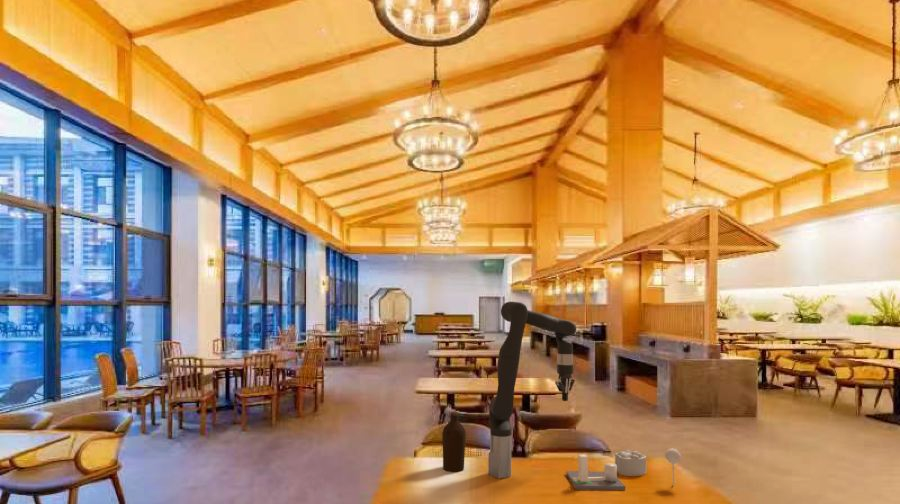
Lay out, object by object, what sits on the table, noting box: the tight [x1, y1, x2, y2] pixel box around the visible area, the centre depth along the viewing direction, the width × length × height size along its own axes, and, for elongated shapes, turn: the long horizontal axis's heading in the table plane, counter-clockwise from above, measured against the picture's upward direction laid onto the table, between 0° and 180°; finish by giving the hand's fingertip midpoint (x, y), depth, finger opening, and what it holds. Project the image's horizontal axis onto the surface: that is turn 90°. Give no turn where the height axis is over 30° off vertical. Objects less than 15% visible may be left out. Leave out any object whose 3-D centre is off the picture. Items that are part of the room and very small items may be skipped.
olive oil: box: [441, 410, 467, 473], centre depth 240 cm, size 11×11×25 cm
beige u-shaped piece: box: [573, 453, 618, 482], centre depth 222 cm, size 18×5×10 cm, turn 98°
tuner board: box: [565, 470, 626, 491], centre depth 225 cm, size 20×18×2 cm
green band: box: [575, 480, 593, 483], centre depth 221 cm, size 7×4×1 cm, turn 96°
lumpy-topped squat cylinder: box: [614, 449, 647, 477], centre depth 240 cm, size 10×13×9 cm
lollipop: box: [664, 447, 682, 486], centre depth 223 cm, size 6×6×15 cm
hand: (565, 400), depth 251 cm, fingers closed
